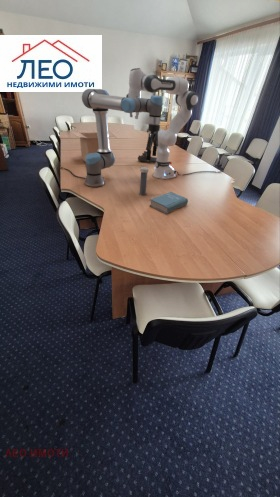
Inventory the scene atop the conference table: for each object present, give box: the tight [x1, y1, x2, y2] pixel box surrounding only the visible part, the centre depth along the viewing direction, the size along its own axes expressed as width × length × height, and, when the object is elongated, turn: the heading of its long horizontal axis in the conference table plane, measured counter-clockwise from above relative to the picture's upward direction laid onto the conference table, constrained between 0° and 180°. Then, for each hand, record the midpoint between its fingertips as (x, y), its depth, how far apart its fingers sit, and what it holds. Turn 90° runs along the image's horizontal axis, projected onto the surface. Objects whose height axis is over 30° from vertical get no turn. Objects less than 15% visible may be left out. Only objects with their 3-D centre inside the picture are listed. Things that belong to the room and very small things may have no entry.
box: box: [70, 129, 114, 162], centre depth 229 cm, size 44×36×27 cm
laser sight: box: [137, 150, 157, 164], centre depth 243 cm, size 10×22×10 cm, turn 78°
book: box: [149, 191, 189, 214], centre depth 157 cm, size 23×16×5 cm
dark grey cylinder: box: [139, 171, 148, 196], centre depth 168 cm, size 5×5×20 cm
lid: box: [139, 166, 149, 173], centre depth 162 cm, size 6×6×2 cm
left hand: (151, 158), depth 157 cm, fingers open, 13 cm apart
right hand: (133, 118), depth 170 cm, fingers open, 8 cm apart
